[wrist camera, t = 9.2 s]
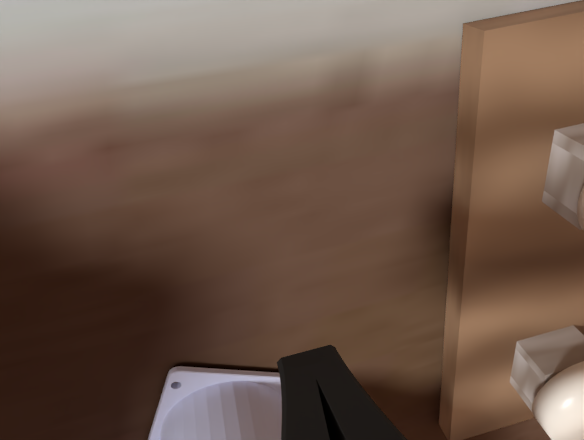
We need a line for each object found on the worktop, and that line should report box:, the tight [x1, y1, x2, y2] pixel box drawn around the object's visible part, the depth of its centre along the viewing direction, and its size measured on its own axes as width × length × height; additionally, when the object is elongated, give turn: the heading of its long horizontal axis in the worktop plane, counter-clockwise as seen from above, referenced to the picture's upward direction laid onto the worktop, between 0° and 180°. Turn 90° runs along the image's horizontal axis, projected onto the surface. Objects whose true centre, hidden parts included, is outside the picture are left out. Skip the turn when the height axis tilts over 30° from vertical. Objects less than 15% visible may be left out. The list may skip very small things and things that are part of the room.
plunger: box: [532, 361, 584, 440], centre depth 27 cm, size 5×5×4 cm
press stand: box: [439, 0, 584, 440], centre depth 25 cm, size 26×11×4 cm, turn 8°
